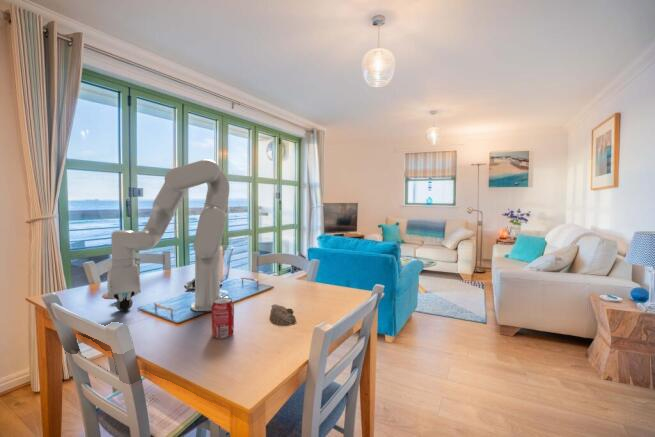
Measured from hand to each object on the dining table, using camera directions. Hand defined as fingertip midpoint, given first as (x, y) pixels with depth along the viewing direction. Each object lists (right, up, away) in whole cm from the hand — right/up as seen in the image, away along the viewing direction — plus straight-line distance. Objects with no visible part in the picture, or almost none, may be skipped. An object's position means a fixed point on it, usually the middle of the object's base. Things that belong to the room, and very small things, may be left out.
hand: (124, 309), depth 116 cm
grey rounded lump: (-2, +1, +4) cm, 4 cm away
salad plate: (+14, 0, +39) cm, 41 cm away
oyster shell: (+61, -4, 0) cm, 61 cm away
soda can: (+43, -4, -15) cm, 46 cm away
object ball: (-10, +2, +14) cm, 17 cm away
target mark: (-17, 0, +23) cm, 29 cm away
